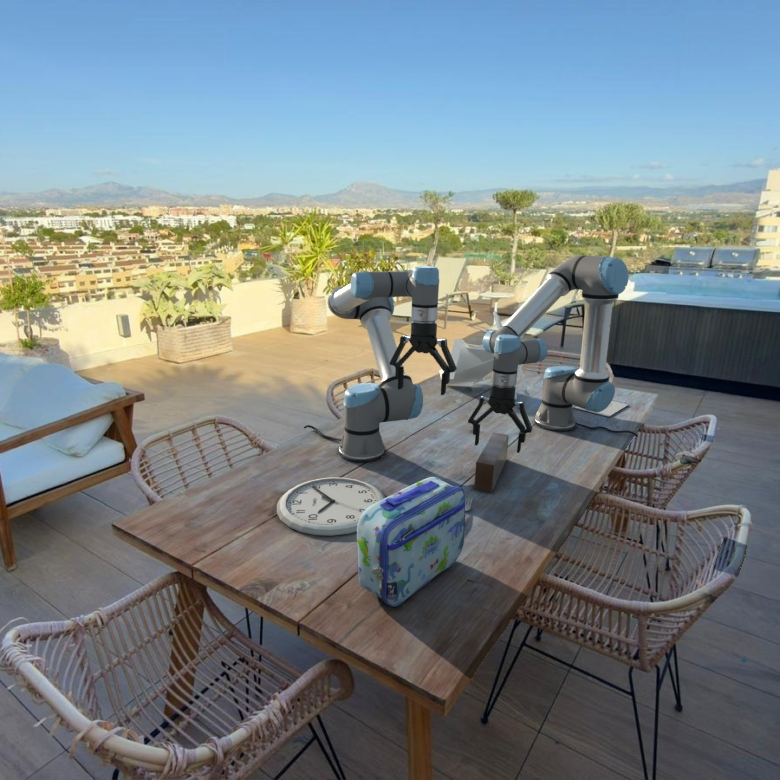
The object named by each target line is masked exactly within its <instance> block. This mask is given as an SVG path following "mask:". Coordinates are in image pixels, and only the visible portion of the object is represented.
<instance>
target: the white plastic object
mask: <svg viewBox="0 0 780 780" xmlns="http://www.w3.org/2000/svg"><path fill="white" fill-rule="evenodd" d="M492 315H493V319H494V321H495V324H496V325H495V326H496V328H497V331H498V330H499V329H500V328H501V327H502V326H503V324H502V321H501V318H500V315H499V314H498V312H497V311H496V310H495V311H492ZM450 354H451V356H452V358H453V361H454V363H455V365H456V368H457V369H456V370H455V371H454V372H451V373H450V381H449V383H448V384H446V386H449V385H458V384H467V383H468V384H469V383H473V384H477V383H480V382H482V381H484V378H485V377H486V376H487V375H489V374H490V373H492V372H493V361H494V354H492V353H490V352H488V351H486V350H485V349H484V347H483V344H479V345H473V346H469V345H468V343H466V342H465V340H464V339H463V338H460V339H458V338H454V340H453V344H452V349H451V352H450ZM521 365H522V364H521ZM521 365H518V370H517V377H518V380H519V382H520V385H521V389H522V391H523V393H524V395H525V396H526V397H528V396H531V395H530V390H529V388H528V387H529V386H528V384H527V381H526V378H525V375H524V371H523V369H522V368H523V367H522V366H521ZM448 367H449V366H448ZM438 372H439V376H440V381H441V380H442V373H443V372H444V371H443V370H442V368H441V369H440V370H439V371H438ZM516 391H517V390H515V400H517V392H516Z"/></svg>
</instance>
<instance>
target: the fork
mask: <svg viewBox="0 0 780 780" xmlns="http://www.w3.org/2000/svg"><path fill="white" fill-rule="evenodd" d="M470 498H471V496H468V497H465V512H467V511H470V510H471V508H472V501H473V498H471V499H470ZM467 499H468V500H467Z"/></svg>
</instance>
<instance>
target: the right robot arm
mask: <svg viewBox="0 0 780 780" xmlns="http://www.w3.org/2000/svg"><path fill="white" fill-rule="evenodd" d="M628 269H629V268H628V266H627V264H626V263H625V261H623V260H622V259H621V258H618V257H612V256H606V255H605V256H602V255H587V254H586V255H585V254H580V255H575V256H572V257H570V258H568V259H566V260H564V261H563V262H561V263H560V264H559V265H557V266H555V268H553V269H552V270H551V271H550V272H549V273H548V274H547V275H546V276H545V278H544V282H543V283H542V284H541V285H540V286H539V287H538V288H537V289H536V290H535V292H534V293H532V295H530V297H529V298H528V299H527V300H525V302H524V303H523V304H522V305H521V306H520V307H519V308H518V309H517V310H516V311H515V312H514V313H513V314H512V315H511V316H510V317H509V319H507V321H506V322H504V323H503V324H502V327H501V328H500V329H499V330H498V329H497V330H489V331H487V332H486V333H484V336H483V338H482V345H483V347H484V349H485V350H486V351H488V352H490V353H492V354H494V361H493V371H492V372H491V383H492V384H491V385H490V393H489V397H486V396H485V395H481V396H480V397H479V401H478V404H477V406H476V407H475V409H474V411H473V412H472V414H471V415H470V416H469V418H468V420H467V423H468V424H470V425H472V435H473V436H475V437H474V446H478V445H479V444H480V443H479V441H480V432H481V424H480V423H481V422H482V421H483V420H484V419H485V418H486V417H488V416H489V415H491V414H492V413H493V412H494V413H495V414H502V415H508V417H509V418H511V420H512V421H513V423H514V424H515V426H516V427H517V428H518V430H519V432H518V437H517V447H516V453H517V454H520V452H521V450H522V444H524V443H525V442H526V435H527V434H528V433H529V434H531V433H532V431H533V426H532V424H531V421H530V419H529V415H528V412H527V411H526V409H525V408H526V407H525V401H524V400H521V401H516V399H515V391H516V389H517V388H516V385H517V378H518V373H517V370H518V365H528V364H529V365H530V364H537V363H539V362H543V361H544V360H545V359H546V358H547V356H548V353H549V349H548V344H547V342H545V340H543V339H541V338H535V337H533V338H526V337H524V336H525V335H526V334H527V333H528V332H529V331H530V330H531V328H533V327H534V325H535V324H536V323H538V321H540V319H541V318H542V317H543V316H544V315H545V313H547V312H548V311H549V310H550V309H551V307H553V306H554V305H555V303H556V302H558V301H559V299H560V298H561V297H565V296H567V295H568V294H569V293H570V292H571V291H575V290H580V291H581V298H582V299H583V300H584V301H585V307H584V309H585V310H584V317H583V327H582V328H583V329H582V338H581V339H582V341H581V349H580V361H579V368H577V367H575V366H569V365H568V366H567V365H557V366H550V367H547V368H546V369H545V371H544V375H543V378H542V379H543V381H542V392H541V402H540V405H539V407H538V410H537V411H536V413H535V416H534V424H535V425H536V426H537V427H539V428H542V429H544V430H549V431H556V432H567V431H572V430H574V429H575V428H576V426H580V427H583V428H586V429H589V430H597V429H602V430H605V431H608V432H609V433H615V434H624V433H629V434H632V435H633V436H635V437H639V435H638V434H637V433H636V432H634V431H632V430H613V429H610V428H608V427H606V426H600V425H599V426H588V425H586V424H582V423H579V422H576V418H575V417H576V416H575V413H574V407H576V406H577V407H580V408H583V409H586V410H587V411H586V412H588V411H593V412H601V411H603V410H605V409H606V408H607V407H608V406H609V404H610V403H611V401H614V400H613V399H614V397H615V393H616V387H615V385H614V384H613V383H612V382H611V381H610V373H609V372H608V371H607V370H606V368H607V367H606V366H607V358H608V349H609V340H610V333H611V332H610V331H611V324H612V315H613V307H614V306H613V304H614V302H616V301H617V300H618V299H619V296H620V294H622V293H623V292H624V291H625V290H626V287H627V286H628V283H629V270H628ZM486 404H489V407H488V409H487V410H485V411H484V412H483V413H481V415H480V416H478V417H477V418H476V416H477V415H478V413H479V411H480V410H481V409H482V408H483V406H484V405H486ZM573 406H574V407H573ZM515 407H516V408H517V409H518V410H519V413H520V416H521V418H522V420H521V419H520V418H519V416H518V415H517V414H516V412H515V410H514V408H515ZM475 418H476V419H475ZM522 421H523V422H522Z"/></svg>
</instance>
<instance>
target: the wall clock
mask: <svg viewBox="0 0 780 780" xmlns="http://www.w3.org/2000/svg"><path fill="white" fill-rule="evenodd" d="M385 498H386V496H385V494H384V493H383V492H382V491H381V490H380V489H379V488H377V487H376V486H374V485H372V484H371V483H369V482H365V481H362V480H359V479H355V478H349V477H338V476H337V477H335V476H333V477H332V476H331V477H322V478H317V479H312V480H307V481H305V482H302V483H299V484H297V485H295V486H293V487H292V488H290V489H288V490H287V491H286V492H285V493H284V494H283V495H281V496H280V498H279V499H278V502H277V503H276V515H277V517H278V518H279V520H280V521H281V522H282V523H283V524H285V525H286V526H287V527H288V528H290V529H293V530H295V531H297V532H299V533H303V534H308V535H312V536H327V537H328V536H329V537H331V536H332V537H333V536H342V535H350V534H352V533H357V526H358V522H359V519H360V517H361V515H362V513H363V512H364V511H365V510H366V509H367V508H368V507H369V506H371V505H373V504H375V503H377V502H379V501H381V500H383V499H385Z"/></svg>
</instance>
